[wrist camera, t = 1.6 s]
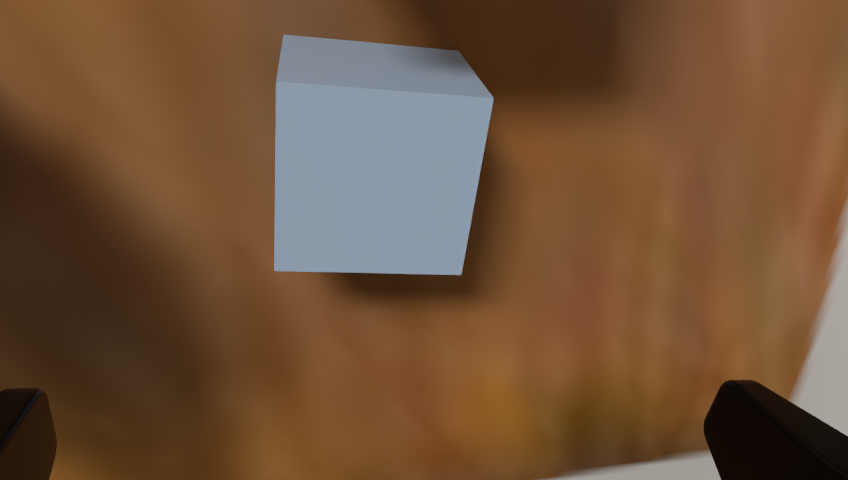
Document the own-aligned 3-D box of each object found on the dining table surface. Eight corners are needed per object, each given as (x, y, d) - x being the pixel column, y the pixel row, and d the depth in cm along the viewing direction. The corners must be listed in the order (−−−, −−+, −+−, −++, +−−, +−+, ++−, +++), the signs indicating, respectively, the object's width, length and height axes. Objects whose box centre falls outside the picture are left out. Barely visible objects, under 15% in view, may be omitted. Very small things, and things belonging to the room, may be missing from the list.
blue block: (435, 200, 19) (461, 275, 16) (281, 193, 18) (274, 270, 15) (457, 49, 17) (493, 98, 14) (283, 33, 16) (276, 81, 13)
